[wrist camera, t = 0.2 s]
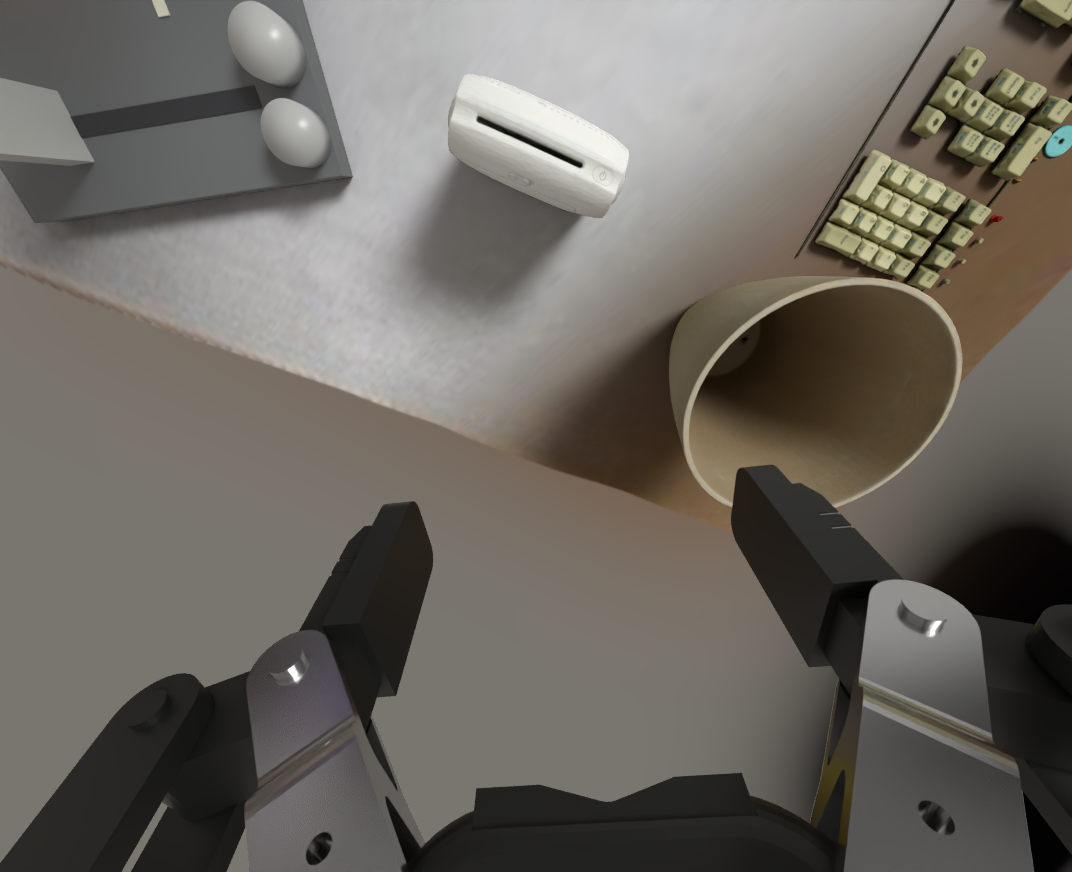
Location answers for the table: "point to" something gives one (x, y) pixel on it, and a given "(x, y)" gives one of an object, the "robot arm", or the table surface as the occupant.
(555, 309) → the table surface
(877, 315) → the plant pot
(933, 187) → the keyboard
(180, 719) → the robot arm
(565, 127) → the photo printer
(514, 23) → the table surface
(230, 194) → the console
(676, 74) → the table surface
